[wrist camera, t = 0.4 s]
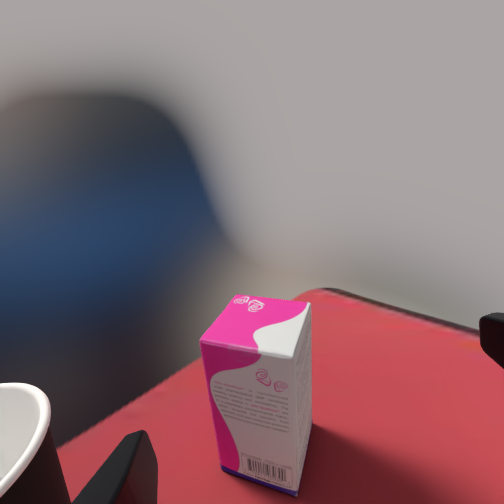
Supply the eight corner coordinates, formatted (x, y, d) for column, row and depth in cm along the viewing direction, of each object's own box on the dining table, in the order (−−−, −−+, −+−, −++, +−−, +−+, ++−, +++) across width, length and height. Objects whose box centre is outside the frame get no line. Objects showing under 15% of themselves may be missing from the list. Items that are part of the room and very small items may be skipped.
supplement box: (313, 420, 24) (314, 300, 20) (297, 500, 19) (294, 362, 15) (247, 402, 26) (235, 290, 22) (217, 470, 21) (194, 342, 17)
